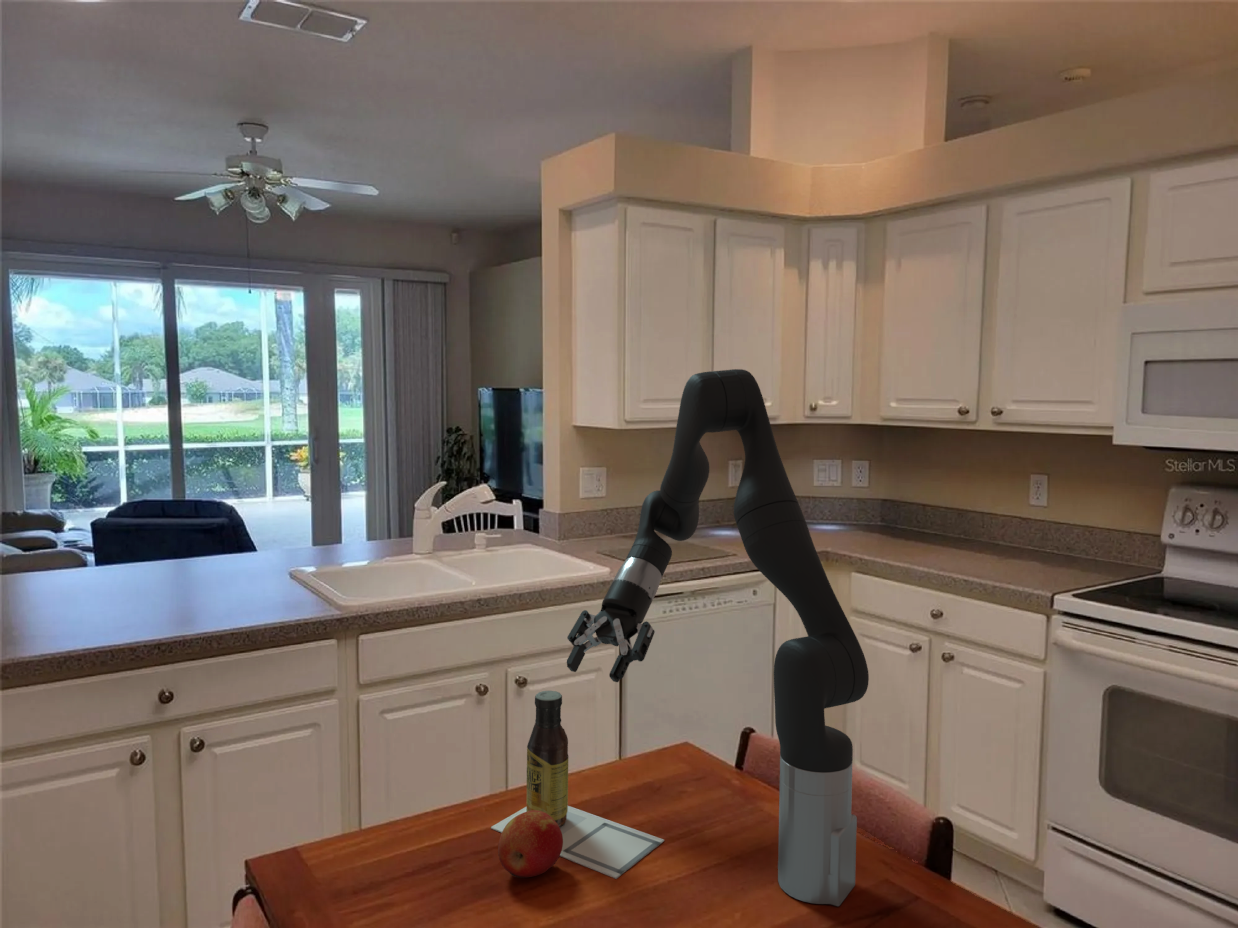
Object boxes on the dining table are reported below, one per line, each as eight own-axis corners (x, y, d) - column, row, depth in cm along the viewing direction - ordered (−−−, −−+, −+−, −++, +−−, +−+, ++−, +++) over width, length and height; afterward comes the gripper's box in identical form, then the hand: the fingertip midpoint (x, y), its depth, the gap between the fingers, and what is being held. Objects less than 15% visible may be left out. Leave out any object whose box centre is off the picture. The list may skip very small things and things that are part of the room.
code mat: (664, 840, 122) (664, 839, 122) (616, 878, 112) (616, 877, 112) (543, 797, 135) (543, 796, 135) (490, 828, 125) (490, 826, 125)
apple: (571, 868, 115) (571, 811, 114) (532, 897, 108) (531, 837, 107) (527, 850, 119) (526, 795, 119) (486, 877, 112) (485, 820, 112)
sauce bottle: (522, 815, 129) (521, 689, 127) (561, 809, 131) (560, 684, 130) (533, 836, 123) (532, 703, 121) (573, 828, 125) (573, 698, 124)
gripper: (589, 573, 145) (546, 654, 136) (659, 583, 136) (618, 670, 128) (608, 597, 149) (567, 677, 141) (676, 609, 141) (637, 694, 133)
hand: (591, 674), depth 134 cm, fingers open, 8 cm apart
